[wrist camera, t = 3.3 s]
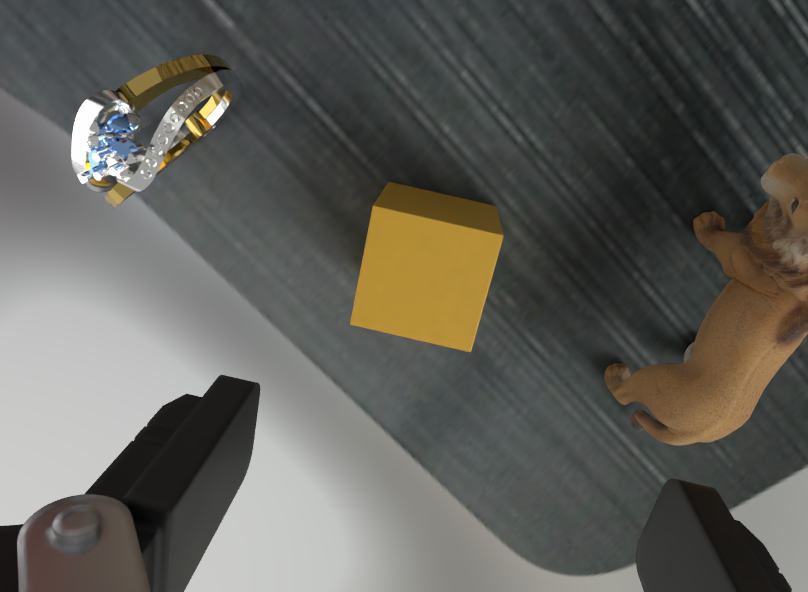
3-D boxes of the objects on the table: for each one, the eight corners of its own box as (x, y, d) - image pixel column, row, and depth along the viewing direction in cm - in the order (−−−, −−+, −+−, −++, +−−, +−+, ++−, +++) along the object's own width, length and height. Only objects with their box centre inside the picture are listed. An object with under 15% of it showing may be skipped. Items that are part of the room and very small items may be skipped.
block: (368, 282, 29) (349, 324, 24) (388, 181, 27) (372, 205, 22) (469, 306, 28) (470, 352, 24) (496, 206, 27) (504, 235, 22)
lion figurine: (705, 115, 24) (831, 139, 16) (830, 146, 24) (1021, 187, 16) (584, 410, 30) (631, 543, 22) (687, 436, 30) (774, 579, 22)
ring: (177, 198, 28) (74, 246, 20) (129, 142, 27) (3, 170, 20) (286, 104, 26) (216, 119, 18) (237, 41, 25) (143, 30, 18)
